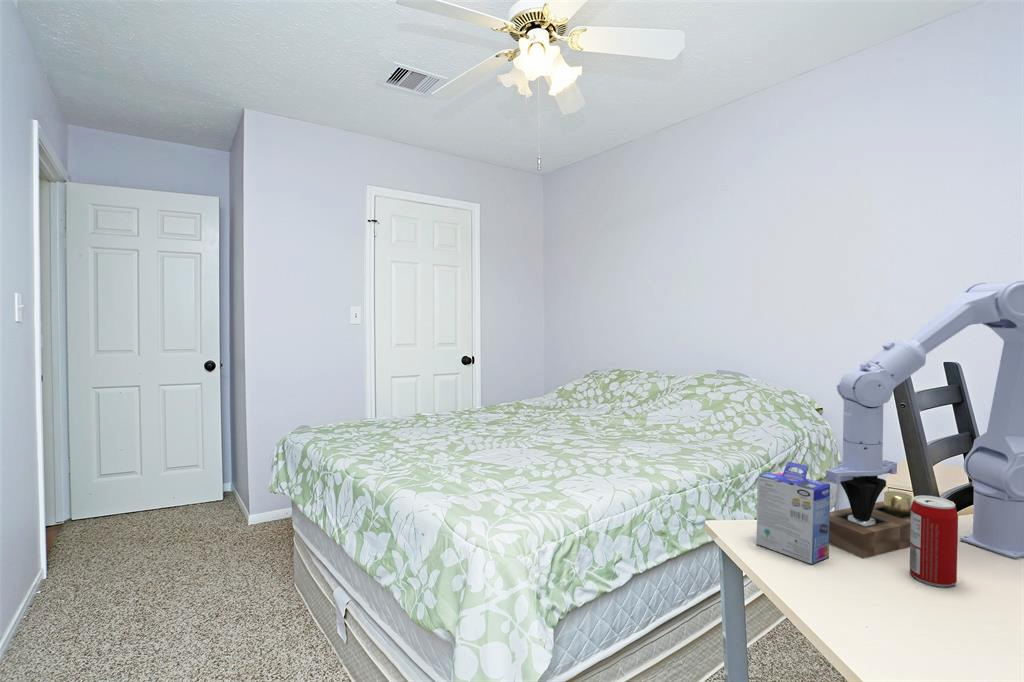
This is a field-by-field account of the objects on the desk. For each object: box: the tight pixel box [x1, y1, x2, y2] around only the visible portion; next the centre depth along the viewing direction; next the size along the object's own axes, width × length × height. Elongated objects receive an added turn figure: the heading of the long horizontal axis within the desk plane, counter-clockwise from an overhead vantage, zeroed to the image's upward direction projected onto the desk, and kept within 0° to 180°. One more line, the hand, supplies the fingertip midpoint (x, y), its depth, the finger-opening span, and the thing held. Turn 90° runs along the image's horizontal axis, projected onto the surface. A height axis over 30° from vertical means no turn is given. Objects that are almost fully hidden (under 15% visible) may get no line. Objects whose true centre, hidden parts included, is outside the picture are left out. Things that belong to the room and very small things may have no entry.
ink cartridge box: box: [755, 461, 831, 565], centre depth 90 cm, size 10×6×14 cm, turn 34°
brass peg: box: [883, 490, 913, 518], centre depth 97 cm, size 4×4×4 cm
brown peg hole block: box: [829, 500, 911, 559], centre depth 95 cm, size 20×9×4 cm, turn 111°
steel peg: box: [848, 514, 875, 526], centre depth 94 cm, size 4×4×4 cm
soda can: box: [909, 495, 959, 588], centre depth 80 cm, size 6×6×12 cm
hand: (861, 518), depth 93 cm, fingers closed, pressing on steel peg
